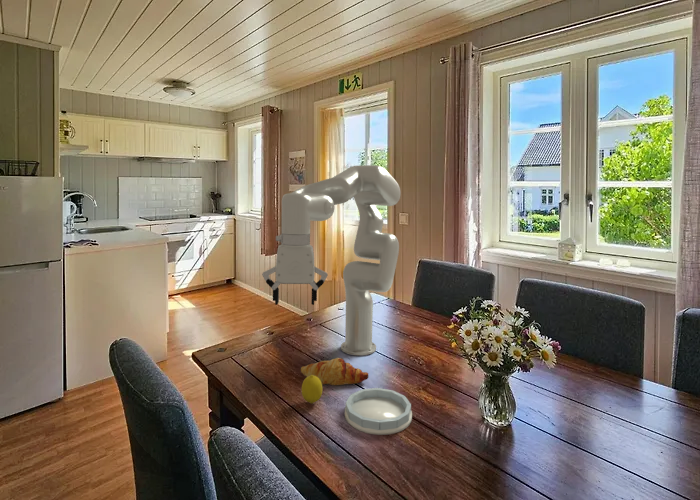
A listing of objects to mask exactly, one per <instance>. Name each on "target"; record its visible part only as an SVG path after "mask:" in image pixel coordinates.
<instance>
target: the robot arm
mask: <svg viewBox="0 0 700 500" xmlns="http://www.w3.org/2000/svg"><path fill="white" fill-rule="evenodd" d="M401 194H402V193H401V187H400V185H399V183H398V182H397V180H396V179H395V178H394V177H393V176H392V175H391V174H390V172H388V170H386V168H384V167H382V166H380V165H377V164H375V165H369V164H368V165H365V164H364V165H363V164H362V165H353V166H350V167H348V168H346V169H344V170H343V171H341V172H340V173H338V174H336V175H334V176H333V177H330V178H327V179H323V180H320V181H317V182H313V183H309V184H306V185H303V186H302V187H300V188H297V189H296V190H294V191H292V192H290V193H285V194H283V196H282V199H281V233H280V235H276V236H275V241H276V242H280V243H281V244H280V245H278V248H277V252H276V257H275V258H276V262H275V266H273V267H271V268H268V269H267V270H265V271H263V272H262V277H263V278H264V281H265V283H266V284H267V285H268V286H269V287H270V288H271V290H272V302H273V301H274V305H275V306H277V305H279V301H280V300H279V298H280V294H279V293H280V288H279V286H280V285H282V284H283V285H310V286H311V301H310V302H311V305H312V306H314V305H315V302H317V300H318V298H317V297H318V290H319V288H320V287H321V286H322V285H324V283H325V281H326V280H327V278H328V273H327V272H326V271H325V270H322V269H320V268H318V267H317V266H315V254H314V253H315V252H314V248H313V245H311V222H323V221H328V220H329V219H330V218H332V216H333V214H334V213H335V206H337V205H341V204H345V203H346V202H349V201H350V200H351V199H352V198H353V199H354V201H355V204H356V207H357V209H358V213H359V220H358V221H359V222H358V227H357V232H356V235H355V240H354V245H353V252H354V254H355V256H356V257H359V258H360V259H364V260H366V259H367V260H374V261H379V263H377V262H372V261H371V262H370V261H362V260H353V261H350V262H348V263H347V264H346V265H345V266H344V267H343V272H342V276H343V277H342V278H343V283H344V291H345V292H344V293H345V326H344V327H345V328H344V329H345V335H344V337H345V339H344V341H343V342H342V343H341V345H340V350H341V351H342V352H343V353H345V354H348V355H351V356H358V357H359V356H368V355H371V354H373V353H375V352H376V351H377V345H376V343H374V342H373V318H374V317H373V313H374V311H373V309H374V303H373V302H374V301H373V297H372V295H371V292H375V293H376V292H378V293H386V292H388V291H389V290H391V287H392V286H393V282H394V278H395V275H396V274H395V273H396V269H397V264H398V258H399V252H400V243H399V240H398V238H397V236H396V235H394V234H393V233H387V232H385V233H384V232H382V231H383V226H384V217H383V215H382V214H381V211H380V210H379V209H378V207H377V206H380V207H382V206H383V207H385V206H386V207H392V206H395V205H397V204H398V202H399V201H400V200H401ZM272 274H275V281H274V280H272V279H271V277H270V275H272ZM315 274H318V275H319V276H321V277H320V279H319V280H318V281H315ZM370 291H371V292H370Z"/></svg>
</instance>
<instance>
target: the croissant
mask: <svg viewBox="0 0 700 500" xmlns="http://www.w3.org/2000/svg"><path fill="white" fill-rule="evenodd" d="M300 373H301V374H303V376H305V377H306V378H307V377H308V376H311V375H314V376H316V377H318V378H319V379H320V381H321V383H322V385H330V386H341V385H353V384H359V383H362V382H364V381H366V380H368V379H369V373H368V372H365V371H362V369H360V368H359V367H358V368H355V367H354V366H353V365H352V364H351V363H350V362H346V361H345V360H344V358H342V357H336V358H333V359H331V360H321V361H318V362H315V363H309V364H307V365H305V366H304V365H303V366H301V367H300Z"/></svg>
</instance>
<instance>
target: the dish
mask: <svg viewBox="0 0 700 500" xmlns="http://www.w3.org/2000/svg"><path fill="white" fill-rule="evenodd" d="M344 419H345V421H346V422H347V423H348V425H350V426H351V427H352V428H353V429H355V430H357V431H360V432H362V433H364V434H369V435H377V436H383V435H384V436H386V435H393V434H397V433H400V432H402V431H403V430H405V429H407V428H408V427H409V426H410V424H411V423H412V420H413V411H412V403H411V402H410V401H409V399H408V398H407V397H406V396H405V395H404V394H402V393H400V392H398V391H395V390H393V389H387V388H380V387H372V388H363V389H360V390H358V391H356V392H353V393H352V394H350V395H349V397H348V398H347V400H346V402H345V408H344Z"/></svg>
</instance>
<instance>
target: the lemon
mask: <svg viewBox="0 0 700 500" xmlns="http://www.w3.org/2000/svg"><path fill="white" fill-rule="evenodd" d="M301 395H302V398H303V400H304V401H306V402H307V403H310V404H314V403H316V402H319V400H320V399H321V397H322V395H323V384H322V383H321V381H320V379H319V378H318V377H316V376H314V375H311V376H308V377H307V376H306V377H305V378H304V380H303V381H302V384H301Z"/></svg>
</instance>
